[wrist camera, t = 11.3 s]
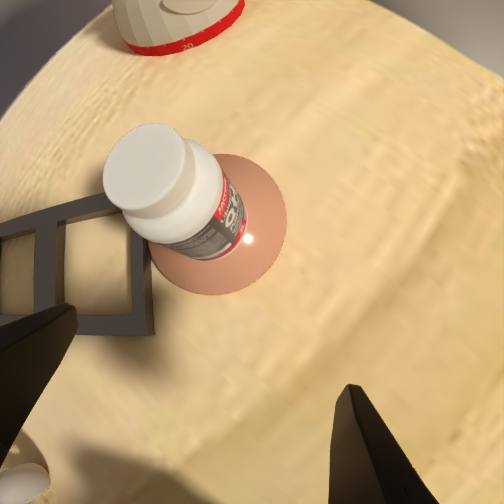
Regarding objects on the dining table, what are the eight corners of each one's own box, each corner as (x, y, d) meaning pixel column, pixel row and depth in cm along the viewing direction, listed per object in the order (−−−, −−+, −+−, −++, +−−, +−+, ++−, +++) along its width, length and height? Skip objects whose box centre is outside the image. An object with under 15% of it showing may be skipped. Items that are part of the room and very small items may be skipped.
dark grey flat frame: (154, 334, 22) (146, 335, 20) (-8, 328, 25) (-16, 327, 24) (150, 188, 24) (143, 183, 22) (-6, 230, 27) (-14, 228, 26)
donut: (38, 499, 21) (-18, 526, 11) (21, 475, 22) (-37, 498, 12) (71, 476, 21) (1, 511, 11) (50, 448, 22) (-23, 475, 12)
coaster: (294, 288, 20) (293, 287, 20) (152, 299, 22) (148, 299, 21) (278, 147, 22) (277, 144, 22) (151, 171, 24) (147, 168, 23)
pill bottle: (263, 240, 21) (222, 184, 11) (190, 276, 21) (103, 252, 12) (230, 172, 22) (176, 88, 12) (164, 208, 22) (80, 150, 13)
